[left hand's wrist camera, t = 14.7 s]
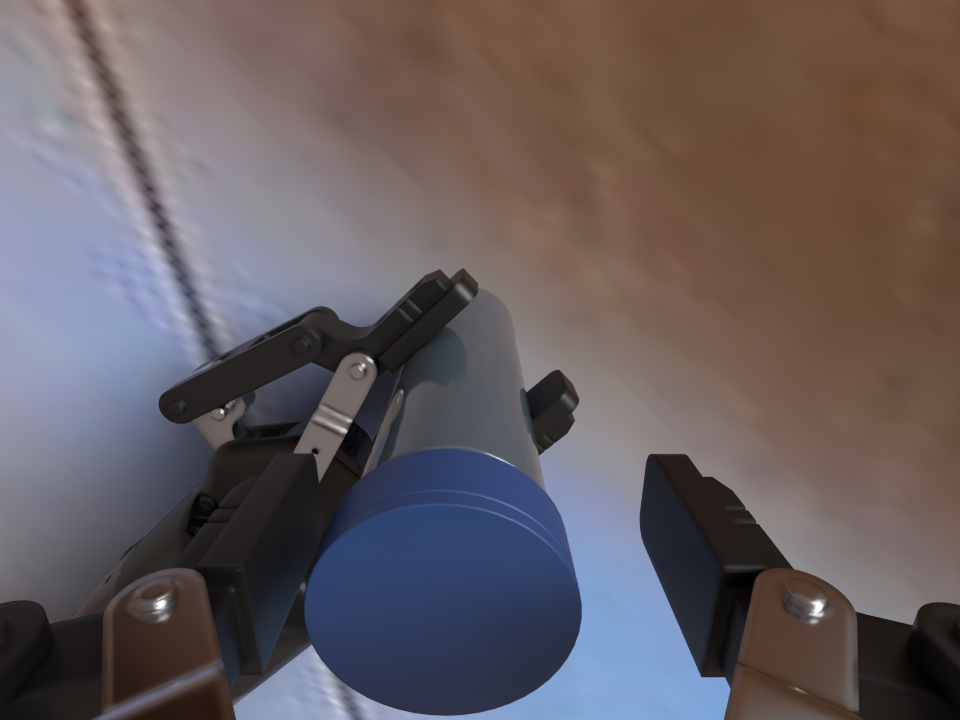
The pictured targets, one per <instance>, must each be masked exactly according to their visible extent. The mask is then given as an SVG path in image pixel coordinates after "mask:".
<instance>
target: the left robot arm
mask: <svg viewBox="0 0 960 720" xmlns="http://www.w3.org/2000/svg"><path fill="white" fill-rule="evenodd" d="M322 526H323V511H322V503H321V495H320V486H319V478H318V470H317V462H316V458H315V456H314V455H313V454H312V453H278V454H276V455H275V456H274V458H273V459H272V461H271V462H270V463H269V465H268V466H267V468H266V469H265V470H264V472H263V473H262V475H261V476H250V477H249V478H247V479H246V480H244V481H243V482H241V483H240V484H239V485H237V486H236V487H234V488H233V489H231V490H230V491H229V493H228V494H227V495H226V496H225V498H224V499H223V500H222V502H221V503H220V504H219V506H218V509H215V511H214V512H213V513H212V515H211V516H210V517H209V519H208V522H207V523H205V524H204V525H203V526H202V528H201V529H200V530H199V531H198V533H197V534H196V535H195V537H194V538H193V539H192V541H191V542H190V543H189V544H188V546H187V547H186V548H185V550H184V551H183V552H182V554H181V555H180V556H179V557H178V559H177V560H176V561H175V563H174V564H173V565H172V566H171V568H170V569H166V570H161V571H158V572H154V573H152V574H149V575H146V576H144V577H142V578H140V579H138V580H136V581H134V582H133V583H131V584H129V585H128V586H127V587H125V588H124V589H122V590H121V591H120V592H119V593H118V594H117V595H116V596H115V597H114V598H113V599H112V600H111V601H110V603H109V604H108V606H107V607H106V610H105V611H104V612H100V613H96V614H91V615H87V616H83V617H79V618H74V619H70V620H66V621H61V622H57V623H53V624H49V622H48V619H47V616H46V613H45V611H44V608H43V607H42V606H41V605H40V604H38V603H36V602H33V601H25V600H22V601H12V602H6V603H2V604H0V720H236V717H235V713H234V708H233V704H232V699H231V695H230V693H231V691H232V689H233V687H234V685H235V683H236V681H237V679H238V676H239V675H263V673H264V670H265V668H266V666H267V663H268V661H269V659H270V656H271V654H272V652H273V649H274V647H275V645H276V642H277V640H278V638H279V635H280V633H281V631H282V628H283V626H284V624H285V621H286V619H287V617H288V614H289V612H290V610H291V607H292V605H293V603H294V600H295V598H296V596H297V593H298V591H299V589H300V586H301V584H302V582H303V579H304V577H305V575H306V572H307V570H308V568H309V565H310V563H311V561H312V558H313V556H314V554H315V551H316V549H317V547H318V544H319V541H320V538H321V533H322ZM640 530H641V536H642V540H643V543H644V546H645V548H646V550H647V553H648V555H649V557H650V560H651V562H652V564H653V567H654V569H655V571H656V573H657V576H658V578H659V580H660V583H661V585H662V587H663V590H664V592H665V594H666V597H667V599H668V601H669V603H670V606H671V608H672V610H673V613H674V615H675V617H676V620H677V622H678V624H679V626H680V629H681V631H682V633H683V636H684V638H685V640H686V643H687V645H688V647H689V650H690V652H691V654H692V656H693V659H694V661H695V663H696V666H697V668H698V670H699V673H700V675H701V677H725V678H726V680H727V682H728V684H729V686H730V688H731V690H730V695H729V699H728V704H727V708H726V713H725V717H724V720H960V605H957V604H951V603H942V602H936V603H929V604H925V605H924V606H922V607H921V608H920V609H919V610H918V612H917V615H916V618H915V621H914V623H913V625H909V624H905V623H900V622H896V621H892V620H887V619H883V618H879V617H874V616H870V615H866V614H862V613H859V612H855V610H854V607H853V606H852V604H851V603H850V601H849V600H848V599H847V598H846V597H845V596H844V595H843V594H842V593H841V592H840V591H839V590H838V589H836V588H835V587H833V586H832V585H831V584H829V583H827V582H826V581H824V580H822V579H820V578H818V577H816V576H814V575H811V574H808V573H806V572H802V571H799V570H794V569H793V568H792V566H791V565H790V564H789V562H788V561H787V560H786V559H785V557H784V556H783V555H782V553H781V552H780V551H779V550H778V548H777V547H776V546H775V544H774V543H773V542H772V541H771V539H770V538H769V537H768V535H767V534H766V533H765V532H764V530H763V529H762V528H761V527H760V525H759V524H756V520H755V519H754V518H753V516H752V515H751V514H750V512H749V511H748V510H746V509H745V506H744V505H743V503H742V502H741V501H740V500H739V498H738V497H737V496H736V494H735V493H734V492H733V491H732V490H731V489H729V488H728V487H726V486H725V485H723V484H722V483H720V482H719V481H717V480H716V479H714V478H713V477H702V475H701V474H700V472H699V471H698V470H697V468H696V467H695V465H694V464H693V463H692V461H691V460H690V459H689V457H688V456H687V455H686V454H650V455H649V456H648V459H647V462H646V469H645V477H644V485H643V493H642V501H641V509H640Z"/></svg>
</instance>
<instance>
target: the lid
mask: <svg viewBox="0 0 960 720" xmlns="http://www.w3.org/2000/svg"><path fill="white" fill-rule="evenodd" d="M303 608H304V620H305V624H306V628H307V632H308V635H309V638H310V640H311V642H312V645H313V647H314V649H315V650H316V652H317V654H318V655H319V657H320V658H321V660H322V661H323V662H324V663H325V665H326V666H327V667H328V668H329V669H330V671H331V672H333V673H334V674H335V675H336V676H337V677H338V678H339V679H340V680H341V681H342V682H344V683H345V684H347V685H348V686H349V687H351V688H352V689H353V690H355V691H357V692H359V693H360V694H362V695H364V696H366V697H367V698H369V699H372V700H374V701H376V702H379V703H381V704H383V705H386V706H389V707H392V708H396V709H399V710H403V711H408V712H412V713H419V714H426V715H442V716H450V715H465V714H472V713H479V712H484V711H488V710H492V709H496V708H499V707H501V706H504V705H507V704H510V703H512V702H514V701H516V700H519V699H521V698H523V697H525V696H526V695H528V694H530V693H531V692H533V691H535V690H536V689H538V688H539V687H540V686H542V685H543V684H544V683H545V682H547V681H548V680H549V679H550V678H551V677H552V676H553V675H554V674H555V673H556V672H557V671H558V670H559V669H560V668H561V666H562V665H563V664H564V662H565V661H566V660H567V658H568V657H569V655H570V653H571V651H572V649H573V647H574V645H575V642H576V639H577V637H578V634H579V630H580V624H581V618H582V603H581V598H580V592H579V587H578V583H577V579H576V574H575V570H574V566H573V561H572V557H571V553H570V548H569V544H568V540H567V535H566V531H565V527H564V524H563V521H562V518H561V516H560V514H559V512H558V510H557V508H556V506H555V504H554V503H553V501H552V500H551V499H550V497H549V496H548V495H547V493H546V492H545V491H544V490H543V489H542V488H541V487H540V486H539V485H538V484H537V483H536V482H535V481H534V480H533V479H531V478H530V477H529V476H527V475H526V474H525V473H523V472H522V471H520V470H519V469H517V468H515V467H514V466H512V465H510V464H508V463H506V462H504V461H501V460H499V459H496V458H494V457H491V456H487V455H484V454H481V453H476V452H471V451H465V450H452V449H439V450H426V451H421V452H415V453H411V454H407V455H404V456H401V457H397V458H395V459H393V460H390V461H388V462H386V463H384V464H382V465H380V466H378V467H377V468H375V469H373V470H372V471H370V472H369V473H367V474H366V475H365V476H363V477H362V478H361V479H360V480H359V481H357V482H356V483H355V484H354V485H353V486H352V488H351V489H350V490H349V491H348V492H347V493H346V494H345V496H344V497H343V499H342V500H341V502H340V503H339V505H338V507H337V509H336V511H335V514H334V516H333V518H332V521H331V523H330V525H329V528H328V530H327V533H326V535H325V538H324V540H323V543H322V545H321V548H320V550H319V553H318V555H317V558H316V560H315V563H314V565H313V567H312V570H311V572H310V575H309V577H308V581H307V584H306V588H305V593H304V603H303Z"/></svg>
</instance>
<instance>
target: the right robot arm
mask: <svg viewBox="0 0 960 720" xmlns="http://www.w3.org/2000/svg"><path fill="white" fill-rule="evenodd" d="M477 293H478V283H477V282H476V281H475V280H474V279H473V278H472V277H471V276H470V275H469V274H468V273H467V271H466V270H465V269H464V268H463V269H461V270H459V271H458V272H457V273H456V274H455V275H454V276H453V277H452V278H450V279H449V278H448V277H447V276H446V275H445V274H444V273H443V272H442V271H441V270H437V271H435V272H432V273H430V274H427V275H425V276H424V277H423V278H422V279H421V280H420V281H419V282H418V283H417V284H416V285H415V286H414V287H413V288H411V289H410V290H409V291H408V292H407V293H406V294H405V295H404V296H403V297H402V298H401V299H400V300H399V301H398V302H397V303H396V304H395V305H394V306H393V307H392V308H391V309H390V310H389V311H388V312H387V313H386V314H384V315H383V316H382V317H381V318H380V319H379V320H378V321H377V322H376V323H375V324H373V325H371V326H368V327H355V326H352V325H350V324H348V323H346V322H344V321H341V320H339V318H338V316H337V314H336V313H335V312H334V311H333V310H331V309H330V308H327V307H323V306H319V307H315V308H313V309H311V310H309V311H307V312H305V313H303V314H301V315H299V316H297V317H295V318H293V319H291V320H289V321H287V322H285V323H283V324H281V325H279V326H277V327H275V328H274V329H272V330H270V331H268V332H266V333H264V334H262V335H260V336H258V337H256V338H254V339H252V340H250V341H248V342H246V343H244V344H242V345H240V346H238V347H236V348H234V349H232V350H230V351H228V352H226V353H224V354H223V355H221V356H219V357H217V358H215V359H213V360H211V361H209V362H207V363H205V364H203V365H201V366H200V367H198V368H197V369H196V370H194V371H193V372H192V373H190V374H189V375H187V376H186V377H185V378H183V379H182V380H181V381H179V382H178V383H177V384H175V385H174V386H173V387H172V388H170V389H169V390H168V391H166V392H165V393H164V394H163V395H162V396H161V397H160V399H159V409H160V411H161V413H162V414H163V415H164V417H166V418H167V419H168V420H170V421H172V422H174V423H178V424H184V423H188V422H190V421H192V422H193V424H194V425H195V426H196V427H197V429H198V430H199V431H200V433H201V434H202V435H203V436H204V438H205V439H206V440H207V442H208V443H209V444H210V446H211V447H212V448H213V449H214V451H215V452H214V453H213V455H212V457H211V459H210V462H209V467H208V473H207V477H206V479H204V480H203V481H202V482H201V483H200V484H199V485H198V486H197V487H196V488H195V489H194V490H193V491H192V492H191V493H190V494H189V495H188V496H187V497H186V498H185V499H184V500H183V501H182V502H181V503H180V504H179V505H178V506H177V507H176V508H175V509H174V510H172V511H171V512H170V513H169V514H168V515H167V516H166V517H165V518H164V519H163V520H162V521H161V522H160V523H159V524H158V525H157V526H156V527H155V528H154V529H153V530H152V531H151V532H150V533H149V534H148V535H147V536H146V537H145V538H143V539H142V540H140V541H139V542H137V543H136V544H134V545H133V546H132V547H131V548H129V549H128V550H127V551H126V552H125V553H124V554H123V556H122V558H121V559H120V560H121V561H120V562H119V563H118V564H117V565H116V566H115V567H113V568H112V569H111V570H110V571H109V572H108V573H107V574H106V575H105V576H104V577H103V578H102V579H101V580H100V582H99V583H98V584H97V585H96V586H95V587H94V588H93V590H92V591H91V592H90V593H89V595H88V596H87V597H86V599H85V600H84V601H83V603H82V604H81V606H80V607H79V609H78V610H77V611H76V613H75V614H74V615H73V616H72V617H71V618H70V619H74V618H79V617H83V616H87V615H91V614H96V613H100V612H104V611H105V610H106V607H107V606H108V604H109V603H110V601H111V600H112V599H113V598H114V597H115V596H116V595H117V594H118V593H119V592H120V591H121V590H122V589H124V588H125V587H127V586H128V585H129V584H131V583H133V582H134V581H136V580H138V579H140V578H142V577H144V576H146V575H149V574H152V573H154V572H158V571H161V570H166V569H170V568H171V566H172V565H173V564H174V563H175V561H176V560H177V559H178V557H179V556H180V555H181V554H182V552H183V551H184V550H185V548H186V547H187V546H188V544H189V543H190V542H191V541H192V539H193V538H194V537H195V535H196V534H197V533H198V531H199V530H200V529H201V528H202V526H203V525H204V524H205V523H207V522H208V519H209V517H210V516H211V515H212V513H213V512H214V511H215V509H218V506H219V504H220V503H221V502H222V500H223V499H224V498H225V496H226V495H227V494H228V493H229V491H230V490H231V489H233V488H234V487H236V486H237V485H239V484H240V483H241V482H243V481H244V480H246V479H247V478H249V477H250V476H261V475H262V473H263V472H264V470H265V469H266V468H267V466H268V465H269V463H270V462H271V461H272V459H273V458H274V456H275V455H276V454H278V453H312V454H313V455H314V456H315V458H316V462H317V470H318V478H319V486H320V495H321V503H322V511H323V526H322V533H321V538H320V541H319V544H318V547H317V549H316V551H315V554H314V556H313V558H312V561H311V563H310V565H309V568H308V570H307V572H306V575H305V577H304V579H303V582H302V584H301V586H300V589H299V591H298V593H297V596H296V598H295V600H294V603H293V605H292V607H291V610H290V612H289V614H288V617H287V619H286V621H285V624H284V626H283V628H282V631H281V633H280V635H279V638H278V640H277V642H276V645H275V647H274V649H273V652H272V654H271V656H270V659H269V661H268V663H267V666H266V668H265V670H264V673H263V675H239V676H238V679H237V681H236V683H235V685H234V687H233V689H232V691H231V693H230V695H231V699H232V704H233V706H234V705H235V704H236V703H238V702H239V701H240V700H241V699H243V698H244V697H245V696H246V695H248V694H249V693H250V692H252V691H253V690H254V689H255V688H257V687H258V686H259V685H261V684H262V683H263V682H264V681H266V680H267V679H268V678H270V677H271V676H272V675H273V674H275V673H276V672H277V671H278V670H280V669H281V668H282V667H284V666H285V665H286V664H287V663H289V662H290V661H291V660H293V659H294V658H295V657H296V656H298V655H299V654H300V653H302V652H303V651H304V650H305V649H307V648H308V647H309V646H310V645H312V642H311V640H310V638H309V635H308V632H307V628H306V624H305V620H304V608H303V603H304V593H305V588H306V584H307V581H308V577H309V575H310V572H311V570H312V567H313V565H314V563H315V560H316V558H317V555H318V553H319V550H320V548H321V545H322V543H323V540H324V538H325V535H326V533H327V530H328V528H329V525H330V523H331V521H332V518H333V516H334V514H335V511H336V509H337V507H338V505H339V503H340V502H341V500H342V499H343V497H344V496H345V494H346V493H347V492H348V491H349V490H350V489H351V488H352V486H353V485H354V484H355V483H356V482H357V481H359V479H360V477H361V474H362V471H363V468H364V466H365V463H366V460H367V458H368V455H369V452H370V450H371V447H372V444H373V442H372V440H371V439H370V437H369V436H368V434H367V433H366V432H365V431H364V430H363V429H362V428H361V427H360V426H358V425H357V424H356V423H355V422H354V421H353V419H354V418H355V416H356V414H357V412H358V410H359V408H360V407H361V405H362V403H363V401H364V399H365V397H366V396H367V394H368V392H369V390H370V388H371V386H372V385H373V383H374V381H375V379H377V378H378V377H379V376H380V375H381V374H382V373H383V372H384V371H385V370H386V369H387V368H388V369H389V370H390V371H391V372H392V373H394V372H396V371H397V370H398V369H399V368H400V367H401V366H402V365H403V364H404V363H405V362H406V361H408V360H409V358H410V357H411V356H412V355H414V354H415V353H416V352H417V351H418V350H420V349H421V348H422V347H423V346H424V345H425V344H426V343H427V342H428V341H429V340H430V339H431V338H433V337H434V336H435V335H436V334H437V333H438V332H439V331H440V330H441V329H442V328H443V327H445V326H446V325H447V324H448V323H449V322H450V321H451V320H452V319H453V318H454V317H455V316H457V315H458V314H459V313H460V312H461V311H462V310H463V309H464V308H465V307H466V306H467V305H468V304H469V303H470V302H471V301H472V300H473V299H474V298H475V296H476V295H477ZM310 362H313V363H315V364H317V365H320V366H322V367H324V368H326V369H329V370H331V371H333V372H335V374H334V376H333V378H332V380H331V382H330V384H329V386H328V388H327V390H326V392H325V394H324V396H323V398H322V399H321V401H320V403H319V405H318V407H317V409H316V410H315V412H314V414H313V416H312V417H311V419H308V420H300V421H291V422H283V423H274V424H266V425H257V426H249V427H245V426H244V423H243V414H244V413H245V412H246V411H247V410H248V409H249V408H250V407H251V406H252V404H253V403H254V401H255V397H256V396H255V391H254V390H255V389H257V388H259V387H261V386H263V385H265V384H268V383H270V382H272V381H274V380H276V379H278V378H280V377H282V376H284V375H286V374H288V373H290V372H292V371H294V370H296V369H298V368H300V367H302V366H304V365H306V364H308V363H310ZM526 395H527V400H528V405H529V410H530V415H531V420H532V425H533V430H534V435H535V440H536V445H537V450H538V455H540V454H542V453H543V452H544V451H545V450H547V449H548V448H549V447H550V446H552V445H553V443H554V442H557V441H558V440H559V439H561V438H562V437H563V436H564V435H566V434H567V433H568V431H569V430H570V428H571V426H572V425H573V423H574V421H575V419H574V417H573V414H572V412H573V411H574V410H575V408H576V407H577V405H578V403H579V398H578V395H577V393H576V391H575V388H574V386H573V384H572V383H571V382H570V381H569V380H568V379H567V377H566V376H565V375H564V374H563V373H562V372H561V371H560V370H555V371H553V372H551V373H550V374H548V375H547V376H546V377H545V378H544V379H542V380H541V381H540V382H539V383H538V384H536V385H535V386H534V387H533V388H532V389H530V390H529V391H528V392H527V393H526ZM70 619H68V620H70Z"/></svg>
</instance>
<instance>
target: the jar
mask: <svg viewBox="0 0 960 720" xmlns="http://www.w3.org/2000/svg"><path fill="white" fill-rule="evenodd" d="M439 449H452V450H465V451H471V452H476V453H481V454H484V455H487V456H491V457H494V458H496V459H499V460H501V461H504V462H506V463H508V464H510V465H512V466H514V467H515V468H517V469H519V470H520V471H522V472H523V473H525V474H526V475H527V476H529V477H530V478H531V479H533V480H534V481H535V482H536V483H537V484H538V485H539V486H540V487H541V488H542V489H543V490H544V491H545V492H546V490H545V485H544V480H543V475H542V470H541V465H540V460H539V455H538V450H537V445H536V440H535V435H534V430H533V425H532V420H531V415H530V410H529V405H528V400H527V395H526V390H525V385H524V380H523V375H522V370H521V365H520V360H519V355H518V350H517V345H516V340H515V335H514V330H513V325H512V320H511V317H510V315H509V313H508V311H507V309H506V308H505V306H504V305H503V304H502V303H501V301H500V300H499V299H497V298H496V297H495V296H494V295H492V294H491V293H489V292H487V291H485V290H482V289H479V288H478V293H477V295H476V296H475V298H474V299H473V300H472V301H471V302H470V303H469V304H468V305H467V306H466V307H465V308H464V309H463V310H462V311H461V312H460V313H459V314H458V315H457V316H455V317H454V318H453V319H452V320H451V321H450V322H449V323H448V324H447V325H446V326H445V327H443V328H442V329H441V330H440V331H439V332H438V333H437V334H436V335H435V336H434V337H433V338H431V339H430V340H429V341H428V342H427V343H426V344H425V345H424V346H423V347H422V348H421V349H420V350H418V351H417V352H416V353H415V354H414V355H412V356H411V357H410V358H409V360H408V361H406V362H405V363H404V364H403V365H402V366H401V368H400V371H399V374H398V377H397V379H396V382H395V385H394V387H393V390H392V393H391V395H390V398H389V401H388V404H387V406H386V409H385V412H384V414H383V417H382V420H381V423H380V425H379V428H378V431H377V433H376V436H375V439H374V441H373V444H372V447H371V450H370V452H369V455H368V458H367V460H366V463H365V466H364V468H363V471H362V474H361V477H360V479H361V478H362V477H363V476H365V475H366V474H367V473H369V472H370V471H372V470H373V469H375V468H377V467H378V466H380V465H382V464H384V463H386V462H388V461H390V460H393V459H395V458H397V457H401V456H404V455H407V454H411V453H415V452H421V451H426V450H439ZM360 479H359V480H360Z"/></svg>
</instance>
